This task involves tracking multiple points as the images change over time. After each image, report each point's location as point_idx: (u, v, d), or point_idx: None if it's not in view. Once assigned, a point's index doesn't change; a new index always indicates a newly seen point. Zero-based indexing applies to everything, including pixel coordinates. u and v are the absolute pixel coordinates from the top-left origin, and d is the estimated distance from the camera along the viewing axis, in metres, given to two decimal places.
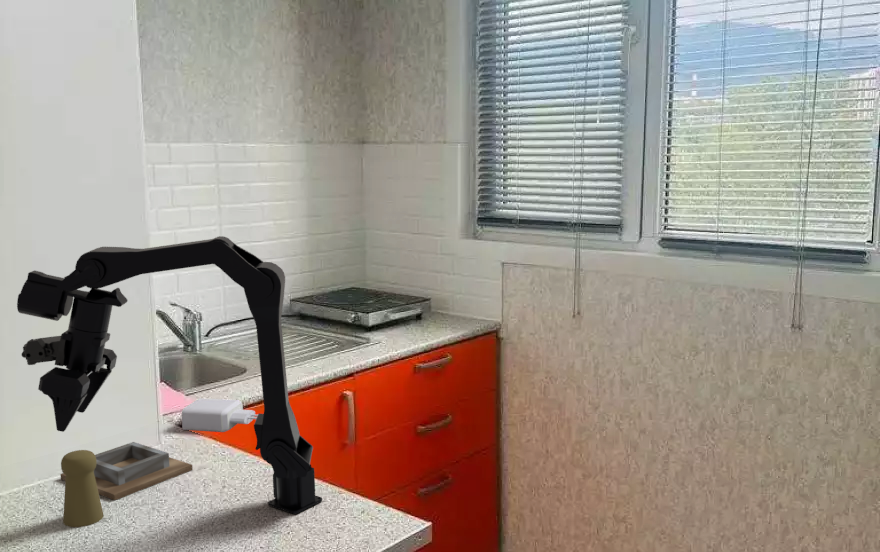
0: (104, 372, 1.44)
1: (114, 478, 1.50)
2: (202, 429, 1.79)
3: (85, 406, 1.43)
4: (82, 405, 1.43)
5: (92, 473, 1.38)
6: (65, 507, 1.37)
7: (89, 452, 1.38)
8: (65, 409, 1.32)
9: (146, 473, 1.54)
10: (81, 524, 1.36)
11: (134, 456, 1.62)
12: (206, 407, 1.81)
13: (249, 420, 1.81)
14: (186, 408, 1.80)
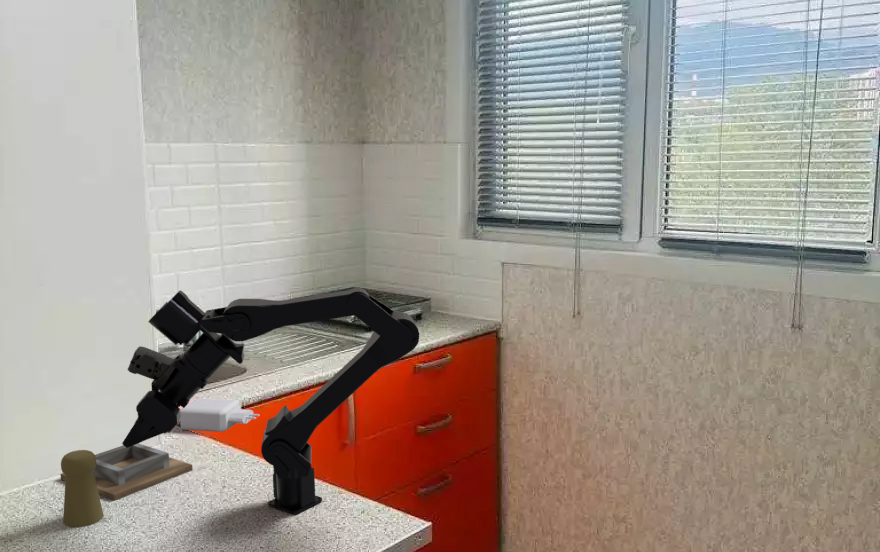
0: None
1: (114, 478, 1.50)
2: (200, 429, 1.79)
3: None
4: None
5: (92, 473, 1.38)
6: (65, 507, 1.37)
7: (89, 452, 1.38)
8: (143, 431, 1.32)
9: (146, 473, 1.54)
10: (81, 524, 1.36)
11: (134, 456, 1.62)
12: (205, 406, 1.81)
13: (247, 420, 1.81)
14: (184, 408, 1.80)
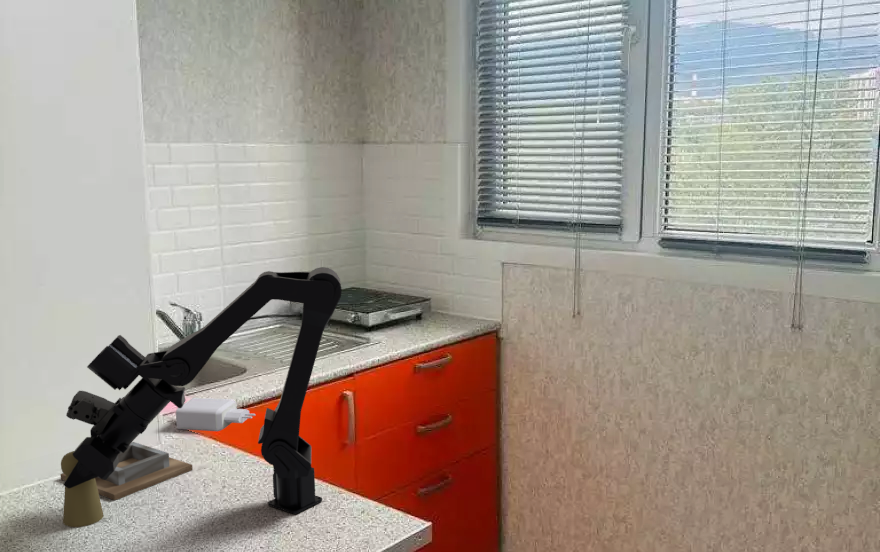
0: None
1: (114, 478, 1.50)
2: (196, 428, 1.79)
3: None
4: None
5: None
6: (65, 507, 1.37)
7: None
8: (84, 472, 1.34)
9: (146, 473, 1.54)
10: (81, 524, 1.36)
11: (134, 456, 1.62)
12: (201, 406, 1.81)
13: (243, 419, 1.82)
14: None
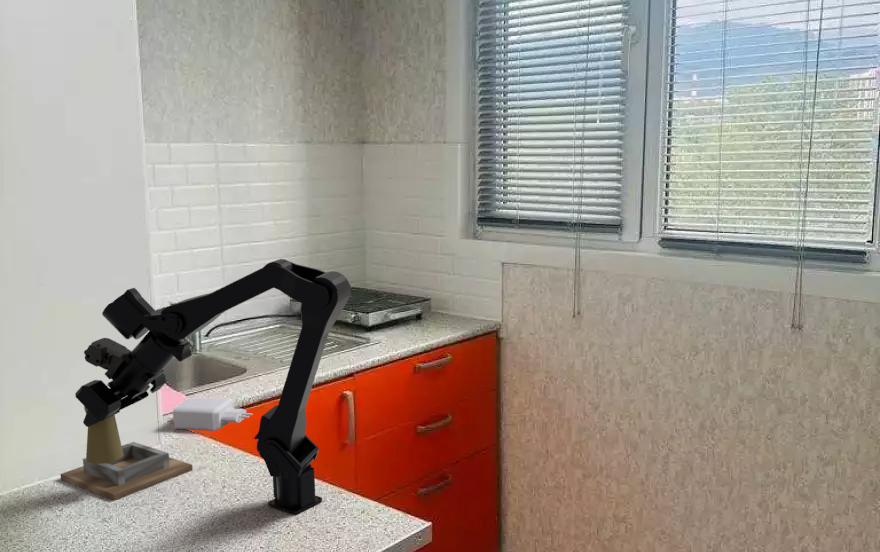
0: (140, 395, 1.51)
1: (114, 478, 1.50)
2: (194, 428, 1.80)
3: None
4: None
5: None
6: (87, 444, 1.48)
7: None
8: None
9: (146, 473, 1.54)
10: (96, 461, 1.47)
11: (134, 456, 1.62)
12: (198, 405, 1.81)
13: (240, 419, 1.82)
14: (177, 407, 1.81)
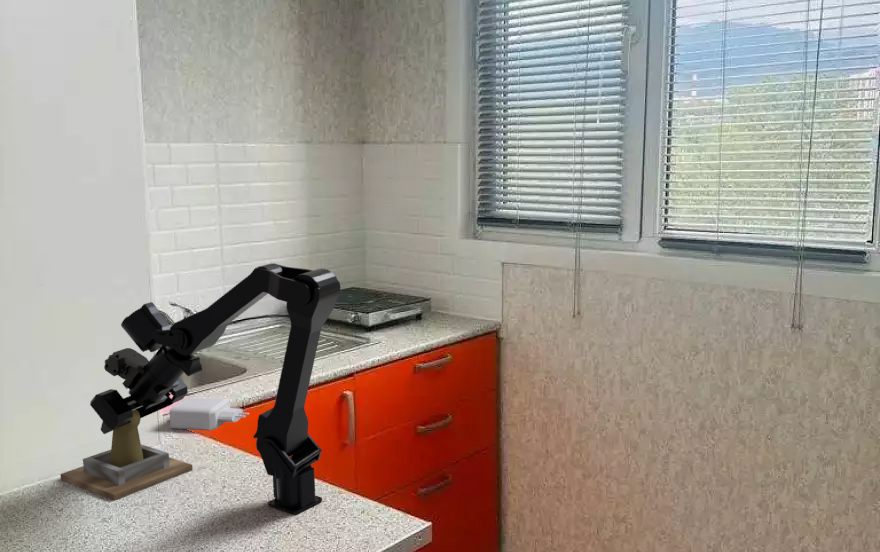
0: (164, 403, 1.57)
1: (114, 478, 1.50)
2: (190, 427, 1.80)
3: None
4: None
5: (132, 430, 1.54)
6: None
7: (133, 411, 1.55)
8: None
9: (146, 473, 1.54)
10: None
11: None
12: (194, 405, 1.82)
13: (237, 418, 1.82)
14: (174, 407, 1.81)
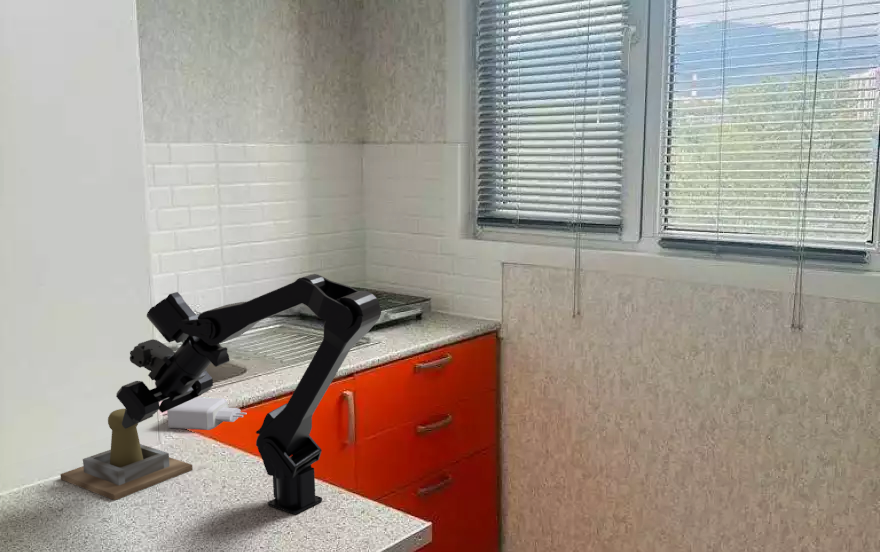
0: (193, 394, 1.56)
1: (114, 478, 1.50)
2: (188, 427, 1.80)
3: (165, 409, 1.57)
4: (163, 407, 1.57)
5: (131, 431, 1.54)
6: (110, 456, 1.55)
7: None
8: (132, 416, 1.46)
9: (146, 473, 1.54)
10: None
11: None
12: (192, 405, 1.82)
13: (235, 418, 1.83)
14: None
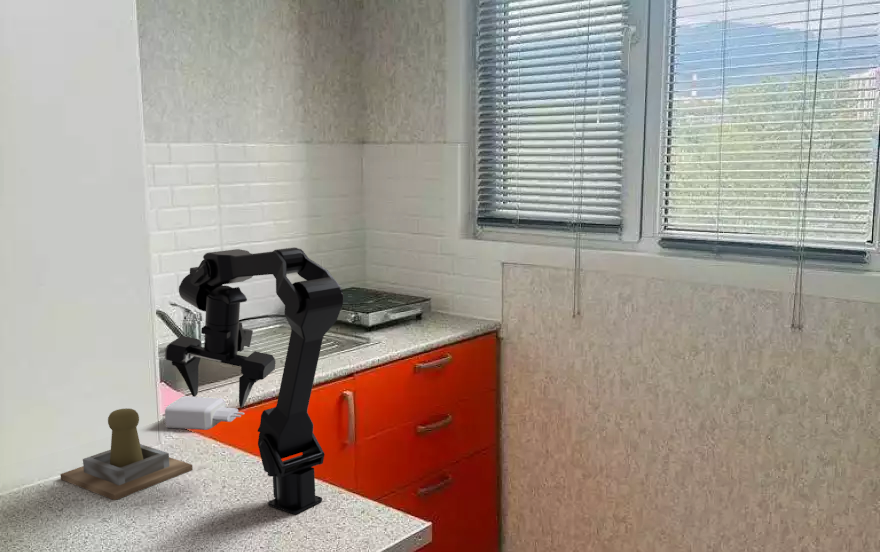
0: (245, 377, 1.52)
1: (114, 478, 1.50)
2: (185, 427, 1.80)
3: None
4: None
5: (131, 431, 1.54)
6: (110, 456, 1.55)
7: (131, 411, 1.54)
8: None
9: (146, 473, 1.54)
10: None
11: None
12: (190, 405, 1.82)
13: (232, 418, 1.83)
14: (169, 406, 1.81)
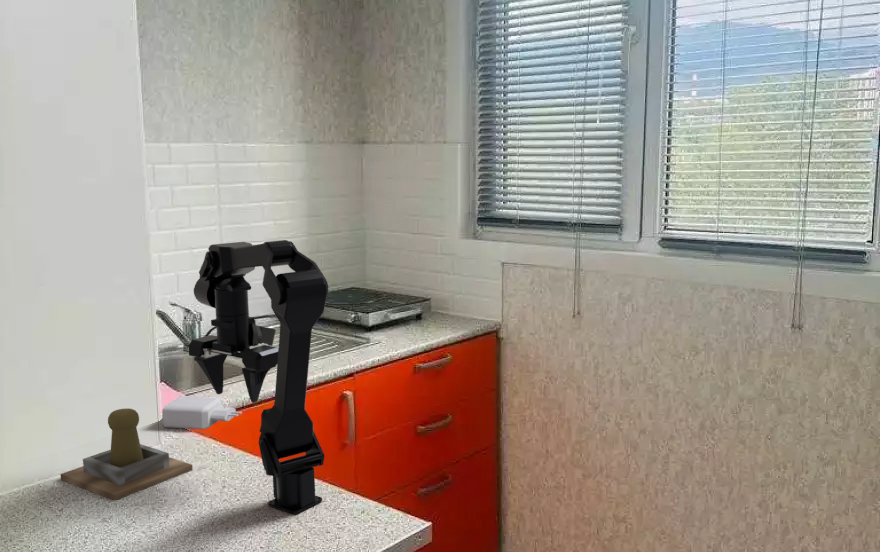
0: (247, 368, 1.51)
1: (114, 478, 1.50)
2: (183, 426, 1.81)
3: (250, 396, 1.55)
4: None
5: (131, 431, 1.54)
6: (110, 456, 1.55)
7: (131, 411, 1.54)
8: None
9: (146, 473, 1.54)
10: None
11: None
12: (187, 404, 1.82)
13: (229, 417, 1.83)
14: (167, 406, 1.82)
